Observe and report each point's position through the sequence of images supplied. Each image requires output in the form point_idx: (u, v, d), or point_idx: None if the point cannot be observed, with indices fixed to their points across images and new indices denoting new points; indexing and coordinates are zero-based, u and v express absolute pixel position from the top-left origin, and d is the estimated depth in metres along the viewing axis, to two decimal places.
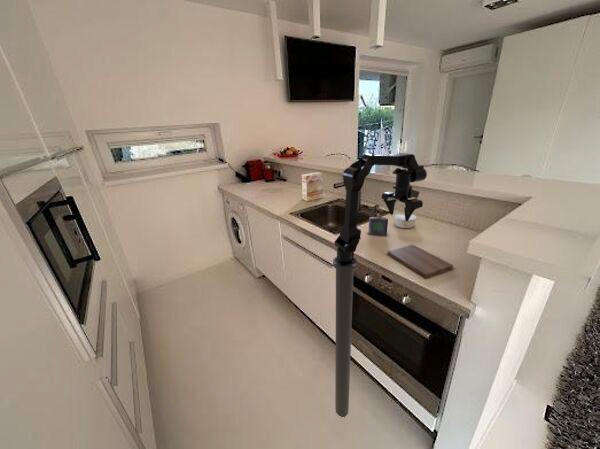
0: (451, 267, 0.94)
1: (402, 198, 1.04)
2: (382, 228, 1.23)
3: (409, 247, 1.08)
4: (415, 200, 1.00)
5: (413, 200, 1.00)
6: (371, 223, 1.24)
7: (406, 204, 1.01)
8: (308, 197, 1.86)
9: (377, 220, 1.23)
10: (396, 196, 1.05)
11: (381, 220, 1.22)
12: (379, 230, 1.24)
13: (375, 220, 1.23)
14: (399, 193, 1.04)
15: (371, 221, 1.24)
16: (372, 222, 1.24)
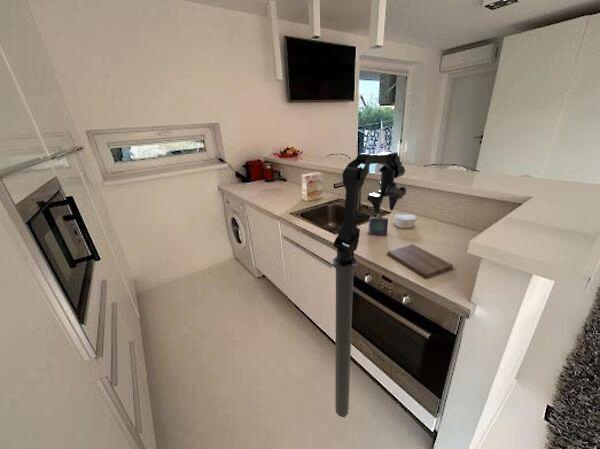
0: (451, 267, 0.94)
1: (379, 192, 1.15)
2: (382, 228, 1.23)
3: (409, 247, 1.08)
4: (374, 195, 1.11)
5: (374, 194, 1.12)
6: (371, 223, 1.24)
7: None
8: (308, 197, 1.86)
9: (377, 220, 1.23)
10: None
11: (381, 220, 1.22)
12: (379, 230, 1.24)
13: (375, 220, 1.23)
14: None
15: (371, 221, 1.24)
16: (372, 222, 1.24)
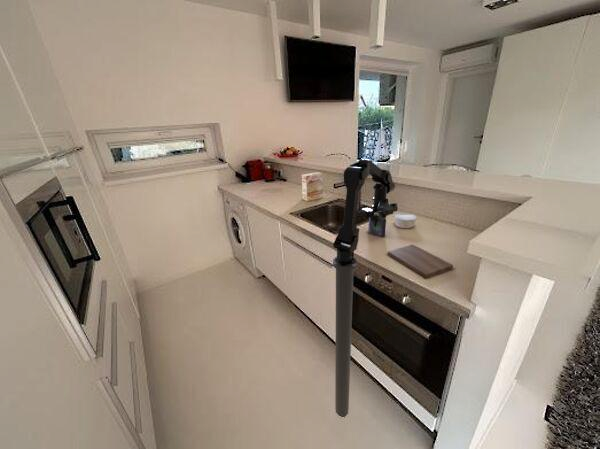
0: (451, 267, 0.94)
1: (373, 207, 1.21)
2: (380, 228, 1.23)
3: (409, 247, 1.08)
4: (366, 209, 1.18)
5: (366, 209, 1.19)
6: (370, 221, 1.26)
7: None
8: (308, 197, 1.86)
9: None
10: None
11: (379, 220, 1.22)
12: (377, 230, 1.24)
13: None
14: None
15: (370, 219, 1.25)
16: (371, 221, 1.25)
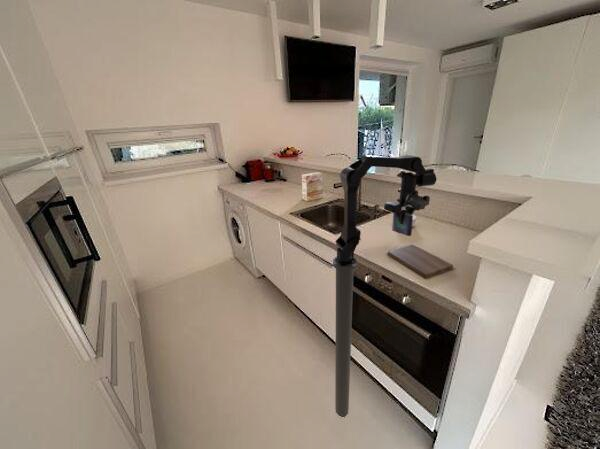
0: (451, 267, 0.94)
1: (398, 200, 1.02)
2: (405, 226, 1.04)
3: (409, 247, 1.08)
4: (392, 203, 0.98)
5: (392, 203, 0.99)
6: (394, 218, 1.07)
7: None
8: (308, 197, 1.86)
9: None
10: None
11: (404, 216, 1.03)
12: (402, 228, 1.05)
13: None
14: None
15: (394, 215, 1.07)
16: (395, 217, 1.06)
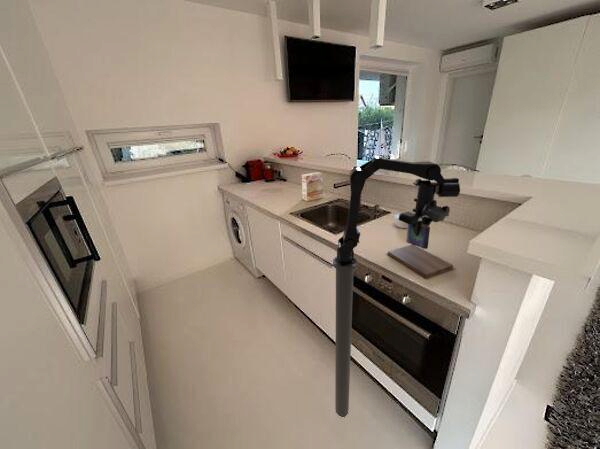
0: (451, 267, 0.94)
1: (414, 210, 0.94)
2: (421, 238, 0.95)
3: (409, 247, 1.08)
4: (408, 214, 0.90)
5: (407, 213, 0.91)
6: (409, 229, 0.99)
7: None
8: (308, 197, 1.86)
9: None
10: None
11: (420, 227, 0.95)
12: (418, 240, 0.97)
13: None
14: None
15: (409, 226, 0.99)
16: (410, 228, 0.98)
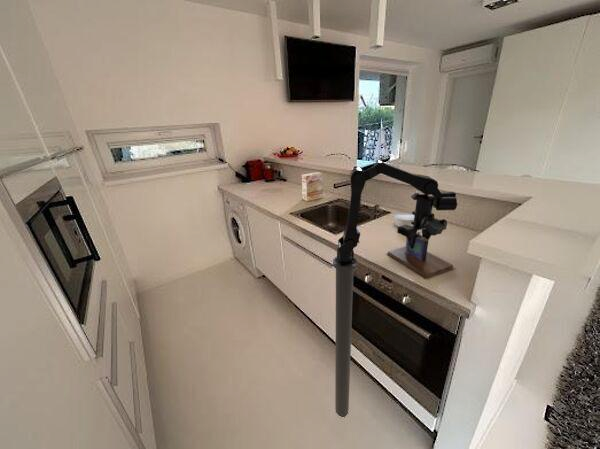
0: (451, 267, 0.94)
1: (413, 223, 0.96)
2: (419, 250, 0.97)
3: None
4: (406, 227, 0.92)
5: (406, 226, 0.93)
6: None
7: None
8: (308, 197, 1.86)
9: None
10: None
11: (419, 240, 0.96)
12: (416, 252, 0.99)
13: None
14: None
15: None
16: None
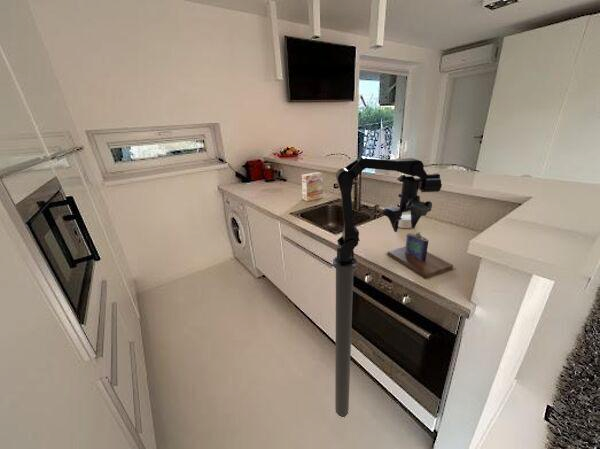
0: (451, 267, 0.94)
1: (399, 206, 0.97)
2: (419, 250, 0.97)
3: None
4: (392, 209, 0.93)
5: (392, 208, 0.94)
6: (408, 240, 1.01)
7: None
8: (308, 197, 1.86)
9: (415, 239, 0.98)
10: None
11: (419, 240, 0.96)
12: (416, 252, 0.99)
13: (412, 238, 0.99)
14: None
15: (408, 238, 1.00)
16: (409, 240, 1.00)
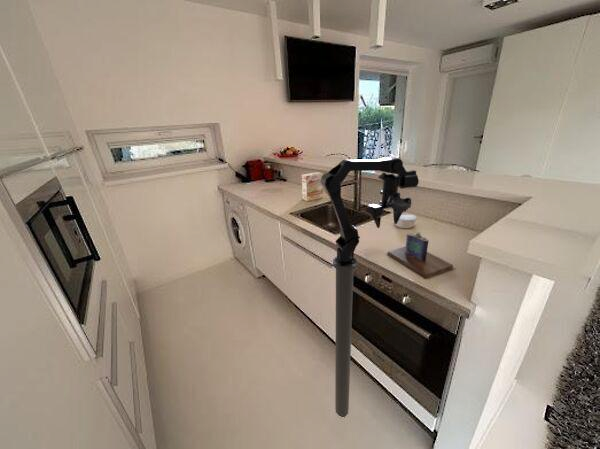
0: (451, 267, 0.94)
1: (381, 203, 1.00)
2: (419, 250, 0.97)
3: None
4: (374, 206, 0.97)
5: (373, 205, 0.98)
6: (408, 240, 1.01)
7: None
8: (308, 197, 1.86)
9: (415, 239, 0.98)
10: None
11: (419, 240, 0.96)
12: (416, 252, 0.99)
13: (412, 238, 0.99)
14: None
15: (408, 238, 1.00)
16: (409, 240, 1.00)
